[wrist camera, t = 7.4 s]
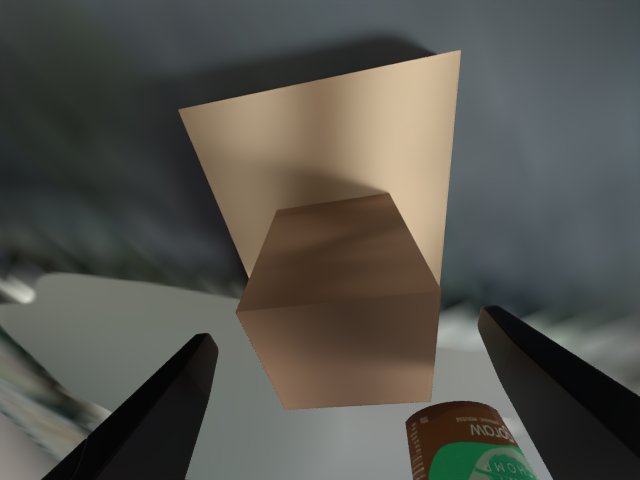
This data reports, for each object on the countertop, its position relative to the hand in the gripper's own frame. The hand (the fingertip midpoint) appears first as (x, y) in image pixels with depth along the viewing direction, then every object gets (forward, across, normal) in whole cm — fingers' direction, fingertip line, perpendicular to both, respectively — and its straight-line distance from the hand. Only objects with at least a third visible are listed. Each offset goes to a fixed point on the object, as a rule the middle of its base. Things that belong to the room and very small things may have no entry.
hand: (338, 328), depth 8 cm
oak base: (+7, 0, 0) cm, 7 cm away
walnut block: (+5, 0, 0) cm, 5 cm away
